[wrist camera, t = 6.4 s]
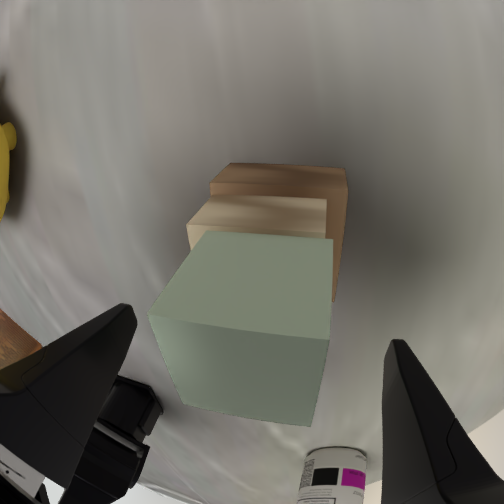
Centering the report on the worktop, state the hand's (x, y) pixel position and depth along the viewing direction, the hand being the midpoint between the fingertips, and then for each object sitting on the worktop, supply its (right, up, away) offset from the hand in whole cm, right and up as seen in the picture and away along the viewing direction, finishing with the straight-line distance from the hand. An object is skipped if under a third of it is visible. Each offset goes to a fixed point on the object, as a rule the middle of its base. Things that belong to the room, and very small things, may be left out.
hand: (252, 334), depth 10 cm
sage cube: (+1, +1, +2) cm, 3 cm away
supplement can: (+11, -24, +23) cm, 35 cm away
